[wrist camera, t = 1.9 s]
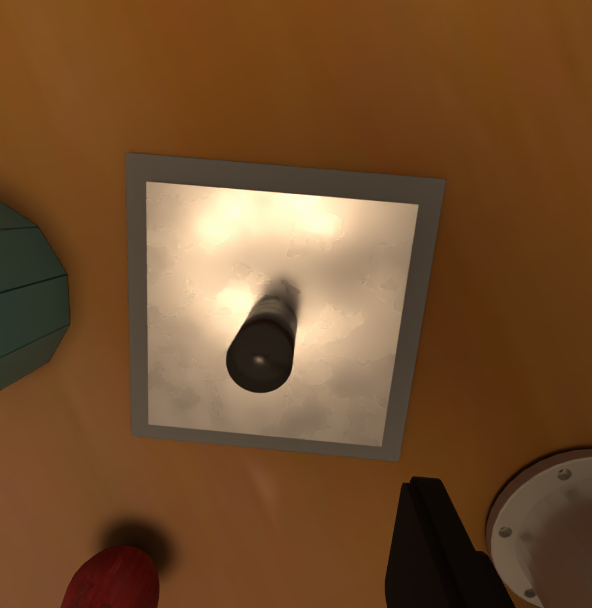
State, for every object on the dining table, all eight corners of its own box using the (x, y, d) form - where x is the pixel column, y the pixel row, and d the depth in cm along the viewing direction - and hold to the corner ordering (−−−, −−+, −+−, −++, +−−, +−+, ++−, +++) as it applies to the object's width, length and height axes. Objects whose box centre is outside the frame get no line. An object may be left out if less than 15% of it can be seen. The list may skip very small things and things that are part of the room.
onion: (85, 528, 29) (2, 646, 21) (157, 511, 28) (99, 625, 21) (116, 589, 30) (49, 721, 22) (186, 574, 30) (141, 704, 22)
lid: (414, 204, 22) (458, 203, 16) (379, 439, 26) (402, 519, 19) (151, 182, 22) (85, 172, 16) (153, 417, 26) (99, 489, 19)
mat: (443, 179, 22) (446, 179, 22) (397, 457, 27) (398, 461, 26) (128, 153, 23) (125, 152, 22) (133, 432, 27) (131, 435, 26)
